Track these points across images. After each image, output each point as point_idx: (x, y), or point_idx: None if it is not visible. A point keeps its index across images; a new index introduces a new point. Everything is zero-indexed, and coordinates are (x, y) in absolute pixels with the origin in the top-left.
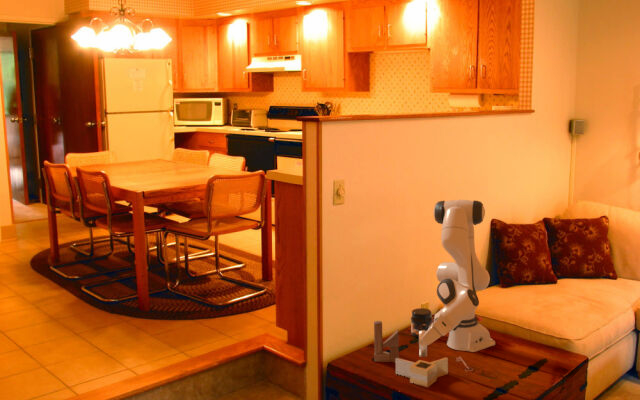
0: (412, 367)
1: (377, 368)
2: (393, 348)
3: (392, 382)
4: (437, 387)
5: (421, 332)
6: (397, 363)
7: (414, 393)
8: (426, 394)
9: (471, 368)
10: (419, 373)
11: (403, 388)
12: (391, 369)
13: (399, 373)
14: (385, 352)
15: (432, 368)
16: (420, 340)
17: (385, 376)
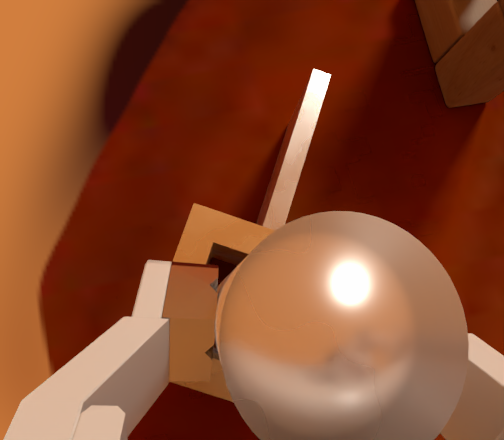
0: (185, 228)
1: (331, 13)
2: (498, 26)
3: (172, 126)
4: (172, 418)
5: (267, 305)
6: (300, 101)
7: (48, 286)
8: (50, 366)
9: None
10: None
11: (105, 205)
12: (344, 88)
13: (282, 143)
14: (482, 2)
15: (228, 397)
16: (138, 301)
17: (241, 73)
